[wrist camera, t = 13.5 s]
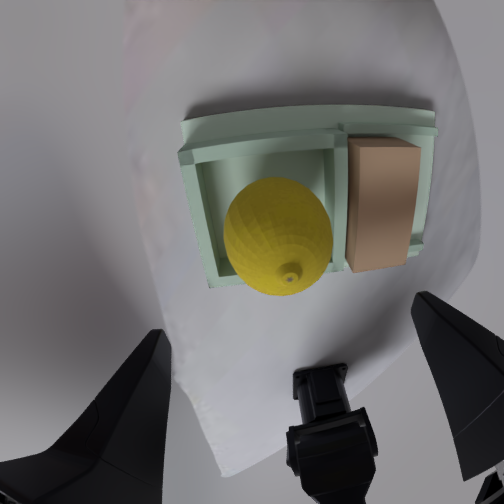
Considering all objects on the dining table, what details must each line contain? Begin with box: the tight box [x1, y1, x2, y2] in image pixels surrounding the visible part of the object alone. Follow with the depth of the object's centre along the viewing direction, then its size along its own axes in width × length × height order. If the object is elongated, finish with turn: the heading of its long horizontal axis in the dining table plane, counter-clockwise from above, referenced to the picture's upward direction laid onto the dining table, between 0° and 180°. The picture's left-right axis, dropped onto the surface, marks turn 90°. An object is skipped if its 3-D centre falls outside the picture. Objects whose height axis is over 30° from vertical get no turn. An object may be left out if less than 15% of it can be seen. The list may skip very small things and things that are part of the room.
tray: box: [177, 104, 438, 288], centre depth 17 cm, size 12×17×3 cm
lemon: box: [224, 177, 333, 296], centre depth 15 cm, size 6×6×8 cm
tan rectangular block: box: [345, 137, 421, 273], centre depth 16 cm, size 8×4×3 cm, turn 7°
